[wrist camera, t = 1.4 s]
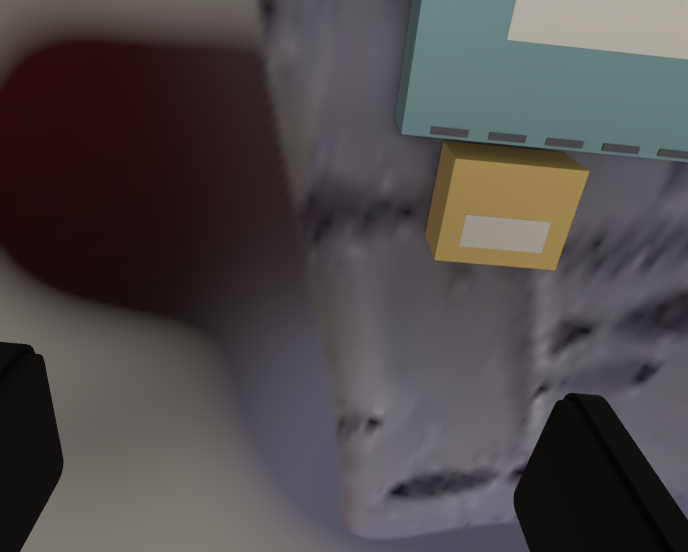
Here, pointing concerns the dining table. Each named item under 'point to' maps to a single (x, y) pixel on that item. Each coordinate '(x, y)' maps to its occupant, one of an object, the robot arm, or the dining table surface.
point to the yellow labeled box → (503, 205)
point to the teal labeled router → (549, 74)
